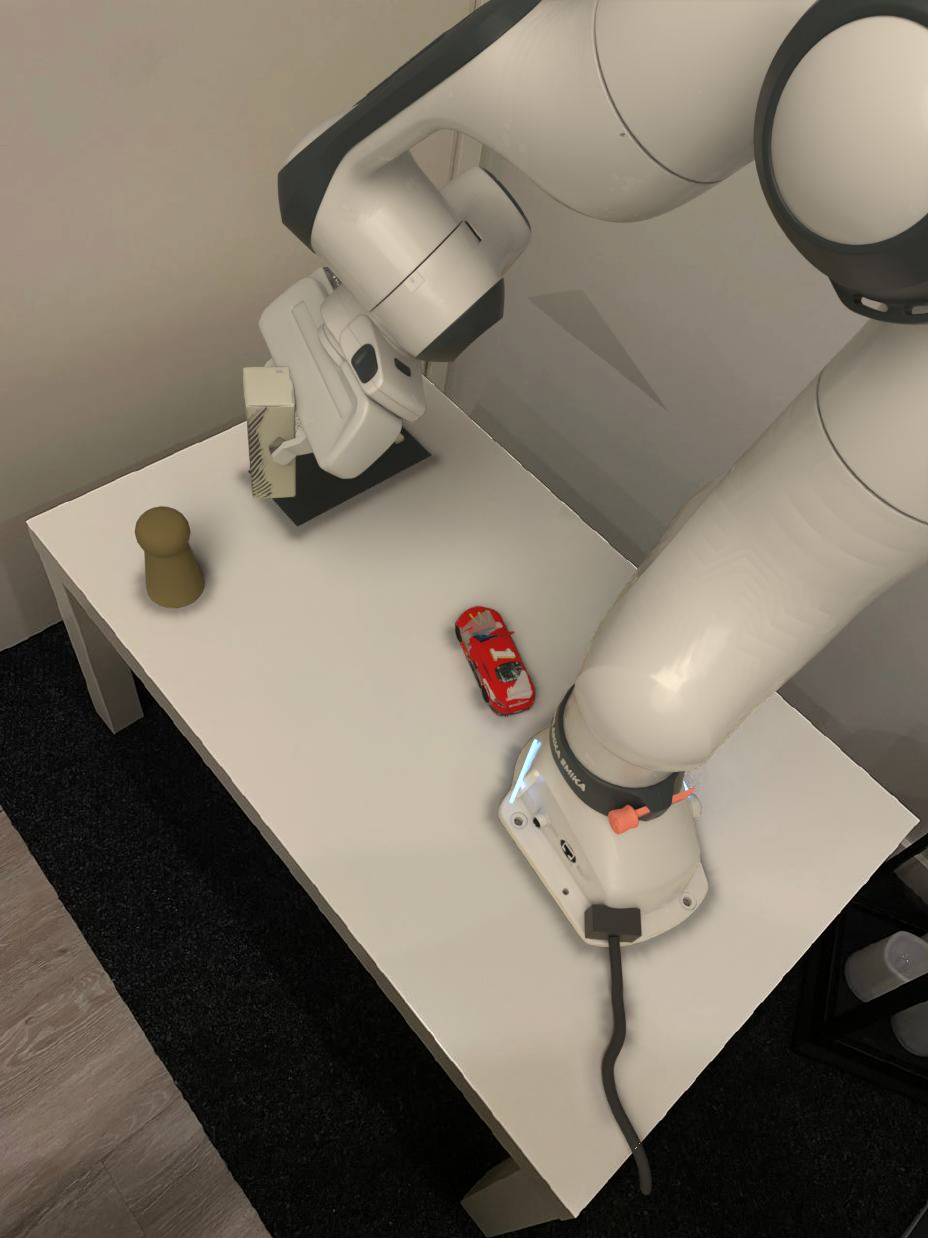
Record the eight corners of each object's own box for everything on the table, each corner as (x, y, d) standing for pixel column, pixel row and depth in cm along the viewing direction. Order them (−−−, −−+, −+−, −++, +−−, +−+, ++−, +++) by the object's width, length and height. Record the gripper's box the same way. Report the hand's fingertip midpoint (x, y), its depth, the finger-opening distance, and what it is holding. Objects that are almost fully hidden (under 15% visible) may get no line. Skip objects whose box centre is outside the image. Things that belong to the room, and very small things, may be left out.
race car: (447, 620, 96) (452, 600, 93) (492, 609, 98) (498, 589, 94) (490, 724, 90) (497, 706, 86) (537, 711, 91) (546, 693, 88)
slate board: (297, 532, 99) (297, 526, 99) (248, 476, 103) (247, 470, 102) (431, 460, 108) (432, 454, 107) (381, 411, 112) (382, 405, 111)
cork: (210, 566, 95) (199, 502, 86) (196, 612, 92) (183, 550, 83) (155, 557, 95) (138, 492, 86) (138, 603, 91) (118, 539, 82)
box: (249, 462, 88) (240, 363, 77) (293, 460, 89) (291, 362, 78) (252, 502, 85) (244, 405, 74) (297, 500, 86) (296, 404, 75)
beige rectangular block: (396, 444, 108) (396, 440, 107) (384, 432, 108) (384, 428, 108) (404, 440, 108) (404, 437, 108) (392, 428, 109) (392, 425, 108)
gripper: (307, 238, 78) (209, 342, 83) (387, 396, 69) (271, 501, 74) (353, 274, 83) (257, 370, 88) (433, 425, 74) (321, 522, 79)
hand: (264, 431), depth 81 cm, fingers closed on box, 5 cm apart
